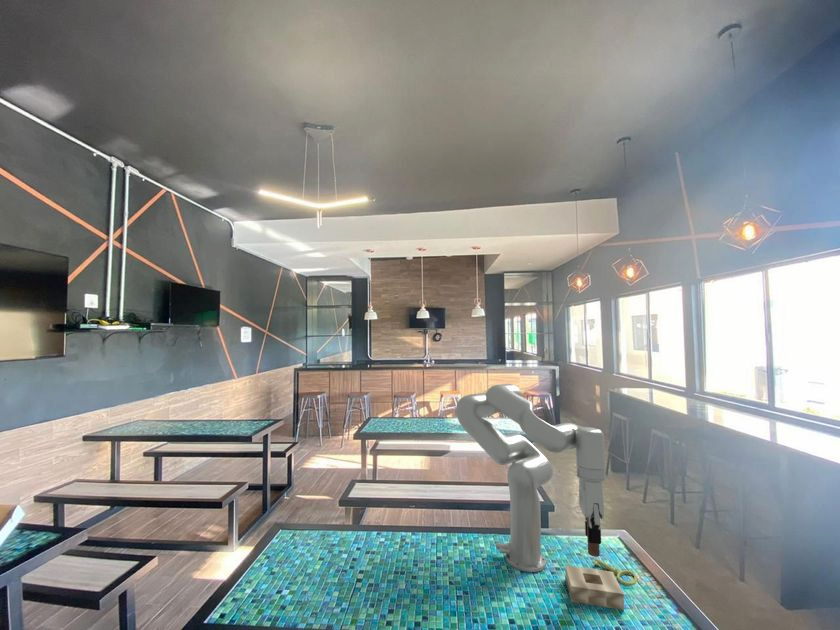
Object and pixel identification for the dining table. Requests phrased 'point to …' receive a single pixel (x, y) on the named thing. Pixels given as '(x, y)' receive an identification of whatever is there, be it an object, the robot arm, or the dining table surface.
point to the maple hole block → (594, 587)
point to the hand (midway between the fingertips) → (593, 539)
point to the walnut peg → (592, 544)
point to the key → (617, 572)
